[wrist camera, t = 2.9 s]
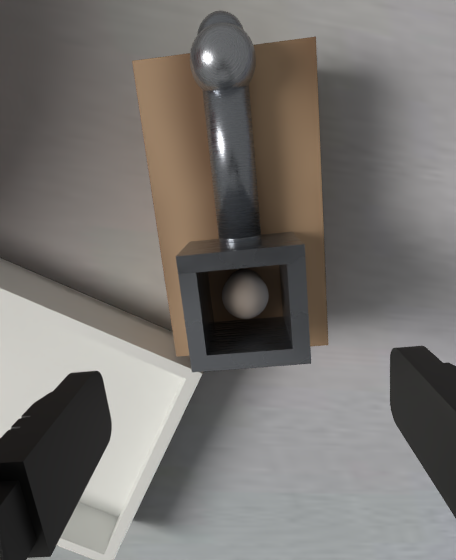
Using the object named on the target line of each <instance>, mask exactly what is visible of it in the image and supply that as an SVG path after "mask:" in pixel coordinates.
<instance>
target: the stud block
mask: <svg viewBox="0 0 456 560" xmlns="http://www.w3.org/2000/svg"><path fill="white" fill-rule="evenodd" d="M253 46H254V49H255V54H256V67H255V72H254V75H253V78H252V80H251V82H250V83H249V92H250V104H251V116H252V129H253V141H254V153H255V165H256V178H257V190H258V202H259V214H260V226H261V235H263V234H273V233H283V232H293V233H294V234H295V235H296V236H297V237H298V238H299V239H300V240H301V241H302V242H303V243H304V244H305V259H306V277H307V296H308V314H309V333H310V346H321V345H328V325H327V301H326V276H325V252H324V227H323V203H322V178H321V154H320V129H319V105H318V80H317V56H316V37H310V38H303V39H295V40H287V41H280V42H272V43H265V44H257V45H253ZM132 63H133V70H134V76H135V83H136V90H137V97H138V103H139V110H140V117H141V123H142V130H143V137H144V143H145V150H146V157H147V163H148V170H149V177H150V183H151V190H152V197H153V204H154V210H155V217H156V224H157V230H158V237H159V244H160V250H161V257H162V264H163V270H164V277H165V284H166V290H167V297H168V304H169V311H170V317H171V324H172V331H173V337H174V344H175V351H176V357H179V356H189V348H188V341H187V334H186V327H185V320H184V313H183V306H182V298H181V291H180V284H179V277H178V270H177V263H176V255H177V254H178V253H179V252H180V251H181V250H182V249H183V248H184V247H185V246H186V245H187V244H188V243H189V242H191V241H201V240H212V239H219V236H218V227H217V218H216V209H215V200H214V191H213V182H212V173H211V164H210V154H209V145H208V136H207V127H206V118H205V109H204V100H203V91H202V89H201V88H200V87H199V86H198V84H197V83H196V81H195V80H194V78H193V75H192V72H191V68H190V53H189V54H181V55H174V56H166V57H158V58H151V59H143V60H136V61H132ZM208 276H209V284H210V293H211V301H212V309H213V318H214V322H220V321H232V320H244V319H256V318H268V317H280V316H283V309H282V295H281V281H280V267H279V265H272V266H261V267H250V268H239V269H229V270H218V271H208Z"/></svg>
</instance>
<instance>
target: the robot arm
mask: <svg viewBox="0 0 456 560" xmlns="http://www.w3.org/2000/svg"><path fill="white" fill-rule="evenodd" d="M390 406H391V411H392V415H393V418H394V421H395V423H396V425H397V427H398V428H399V430H400V431H401V433H402V435H403V436H404V438H405V439H406V441H407V442H408V444H409V446H410V447H411V449H412V450H413V452H414V453H415V455H416V457H417V458H418V460H419V461H420V463H421V464H422V466H423V468H424V469H425V471H426V472H427V474H428V475H429V477H430V478H431V480H432V482H433V483H434V485H435V486H436V488H437V489H438V491H439V493H440V494H441V496H442V497H443V499H444V500H445V502H446V504H447V505H448V507H449V508H450V510H451V511H452V513H453V515H454V516H455V518H456V366H454V365H452V364H450V363H443V362H441V361H440V360H439V359H438V358H437V357H436V356H435V355H434V354H433V353H431V352H430V351H429V350H428V349H427V348H426V347H424V346H414V347H401V348H393V349H392V351H391V355H390ZM111 431H112V421H111V415H110V410H109V406H108V401H107V396H106V391H105V387H104V382H103V378H102V375H101V373H100V372H99V371H87V372H74V373H70V374H68V375H67V376H66V377H65V379H64V380H63V381H62V382H61V383H60V384H59V385H58V386H57V387H56V388H55V390H54V391H53V392H50V393H48V394H47V395H45V396H44V397H42V398H41V399H39V400H38V401H36V402H35V403H33V404H32V405H31V406H30V407H29V408H28V410H27V411H26V412H25V413H24V414H23V415H22V416H21V419H18V420H17V421H16V422H15V423H14V424H13V425H12V426H11V430H8V431H7V432H6V433H5V434H4V435H3V436H2V437H1V438H0V560H26V559H27V558H30V557H51V555H52V553H53V551H54V549H55V547H56V545H57V543H58V541H59V539H60V537H61V535H62V533H63V531H64V529H65V527H66V525H67V523H68V522H69V520H70V518H71V516H72V514H73V512H74V510H75V508H76V506H77V504H78V502H79V500H80V498H81V496H82V494H83V492H84V490H85V488H86V486H87V485H88V483H89V481H90V479H91V477H92V475H93V473H94V471H95V469H96V467H97V465H98V463H99V461H100V459H101V457H102V455H103V453H104V451H105V449H106V448H107V446H108V443H109V441H110V437H111Z"/></svg>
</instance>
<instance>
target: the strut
mask: <svg viewBox="0 0 456 560" xmlns="http://www.w3.org/2000/svg"><path fill="white" fill-rule="evenodd" d="M255 67H256V54H255V49H254V46H253V43H252V41H251V39H250V38H249V36H248V35H247V33H246V32H245V31H244V30H243V27H242V25H241V23H240V21H239V20H238V19H237V18H236V17H235V16H234V15H232V14H231V13H229V12H225V11H216V12H213V13H211V14H209V15H208V16H207V17H206V18H205V19H204V20H203V21H202V23H201V24H200V27H199V30H198V34H197V37H196V38H195V40H194V42H193V44H192V48H191V52H190V68H191V72H192V75H193V78H194V80H195V81H196V83H197V84H198V86H199V87H200V88H201V89H202V91H203V100H204V109H205V118H206V127H207V136H208V145H209V154H210V164H211V173H212V182H213V191H214V200H215V209H216V218H217V227H218V236H219V239H212V240H201V241H191V242H189V243H188V244H187V245H186V246H185V247H184V248H183V249H182V250H181V251H180V252H179V253H178V254H177V255H176V263H177V270H178V277H179V284H180V291H181V298H182V306H183V313H184V320H185V327H186V334H187V341H188V348H189V356H190V363H191V370H192V372H203V371H217V370H230V369H244V368H257V367H271V366H284V365H297V364H311V352H310V333H309V314H308V296H307V277H306V259H305V244H304V243H303V242H302V241H301V240H300V239H299V238H298V237H297V236H296V235H295V234H294V233H293V232H283V233H273V234H263V235H261V226H260V214H259V202H258V190H257V178H256V165H255V153H254V141H253V129H252V116H251V104H250V92H249V83H250V82H251V80H252V78H253V75H254V72H255ZM272 265H279V267H280V281H281V295H282V309H283V316H280V317H268V318H256V319H244V320H232V321H220V322H214V318H213V309H212V301H211V293H210V284H209V276H208V271H218V270H229V269H239V268H250V267H261V266H272Z"/></svg>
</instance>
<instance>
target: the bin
mask: <svg viewBox="0 0 456 560" xmlns="http://www.w3.org/2000/svg"><path fill="white" fill-rule="evenodd" d="M87 371H99V372H100V373H101V375H102V378H103V382H104V387H105V391H106V396H107V401H108V406H109V410H110V415H111V421H112V431H111V437H110V441H109V443H108V446H107V448H106V449H105V451H104V453H103V455H102V457H101V459H100V461H99V463H98V465H97V467H96V469H95V471H94V473H93V475H92V477H91V479H90V481H89V483H88V485H87V486H86V488H85V490H84V492H83V494H82V496H81V498H80V500H79V502H78V504H77V506H76V508H75V510H74V512H73V514H72V516H71V518H70V520H69V522H68V523H67V525H66V527H65V529H64V531H63V533H62V535H61V537H60V539H59V541H58V543H57V546H60V547H62V548H65V549H67V550H70V551H73V552H75V553H78V554H81V555H83V556H86V557H88V558H91V559H94V560H114V558H115V556H116V554H117V552H118V550H119V548H120V546H121V543H122V541H123V539H124V537H125V535H126V533H127V531H128V529H129V527H130V525H131V522H132V520H133V518H134V516H135V514H136V512H137V510H138V508H139V506H140V504H141V501H142V499H143V497H144V495H145V493H146V491H147V489H148V487H149V485H150V483H151V481H152V478H153V476H154V474H155V472H156V470H157V468H158V466H159V464H160V462H161V460H162V457H163V455H164V453H165V451H166V449H167V447H168V445H169V443H170V441H171V439H172V437H173V434H174V432H175V430H176V428H177V426H178V424H179V422H180V420H181V418H182V416H183V413H184V411H185V409H186V407H187V405H188V403H189V401H190V399H191V397H192V395H193V393H194V390H195V388H196V386H197V384H198V382H199V380H200V378H201V376H202V374H203V372H192V370H191V363H190V356H179V357H176V351H175V344H174V337H173V332H172V331H170V330H167V329H165V328H163V327H160V326H158V325H156V324H153V323H151V322H149V321H146V320H144V319H142V318H139V317H137V316H135V315H132V314H130V313H128V312H125V311H123V310H121V309H118V308H116V307H114V306H111V305H109V304H107V303H104V302H102V301H100V300H97V299H95V298H93V297H90V296H88V295H86V294H83V293H81V292H79V291H76V290H74V289H72V288H69V287H67V286H65V285H62V284H60V283H58V282H55V281H53V280H51V279H48V278H46V277H44V276H41V275H39V274H37V273H34V272H32V271H30V270H28V269H25V268H23V267H21V266H18V265H16V264H14V263H11V262H9V261H7V260H4V259H2V258H0V438H1V437H2V436H3V435H4V434H5V433H6V432H7V431H8V430H11V426H12V425H13V424H14V423H15V422H16V421H17V420H18V419H21V416H22V415H23V414H24V413H25V412H26V411H27V410H28V408H29V407H30V406H31V405H32V404H33V403H35V402H36V401H38V400H39V399H41V398H42V397H44V396H45V395H47V394H48V393H50V392H53V391H54V390H55V388H56V387H57V386H58V385H59V384H60V383H61V382H62V381H63V380H64V379H65V377H66V376H67V375H68V374H70V373H74V372H87Z"/></svg>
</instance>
